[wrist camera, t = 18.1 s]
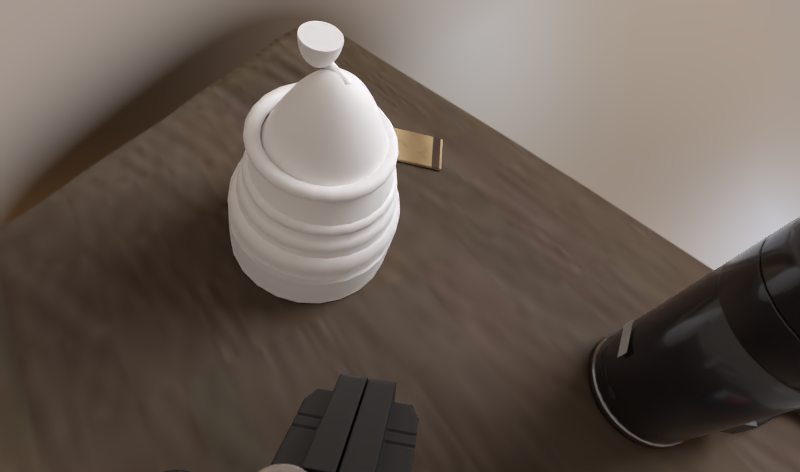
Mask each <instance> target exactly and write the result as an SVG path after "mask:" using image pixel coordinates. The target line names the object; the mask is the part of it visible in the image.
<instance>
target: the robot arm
mask: <svg viewBox="0 0 800 472" xmlns="http://www.w3.org/2000/svg"><path fill="white" fill-rule="evenodd" d="M589 379H590V384H591V388H592V391H593V394H594V397H595V399H596V401H597V403H598V405H599V407H600V409H601V410H602V412H603V414H604V415H605V416H606V418H607V419H608V420H609V421H610V423H611V424H612V425H613V426H614V427H615V428H616V429H617V430H619V431H620V432H621V433H622V434H623V435H625V436H626V437H628V438H629V439H631V440H633V441H635V442H637V443H639V444H641V445H644V446H648V447H652V448H665V447H670V446H673V445H677V444H679V443H681V442H683V441H686V440H689V439H693V438H697V437H700V436H704V435H708V434H712V433H715V432H719V431H720V432H726V433H732V434H734V433H737V432H741V431H745V430H749V429H752V428H756V427H758V426H757V425H761V424H763V423H765V422H767V421H769V420H770V419H772V418H774V417H776V416H777V415H779V414H782V413H786V412H790V411H792V412H797V413H800V217H799V218H797V219H795V220H793V221H792V222H790V223H788V224H787V225H785V226H784V227H782V228H780V229H779V230H777V231H776V232H774V233H773V234H771V235H769V236H768V237H766V238H765V239H763V240H761V241H760V242H758V243H757V244H755V245H754V246H752V247H750V248H749V249H747V250H746V251H744V252H742V253H741V254H739V255H738V256H736V257H734V258H733V259H732V260H730V261H729V262H727V263H725V264H724V265H722V266H721V267H719V268H717V269H716V270H714V271H713V272H711V273H709V274H708V275H706V276H705V277H703V278H702V279H700V280H698V281H697V282H695V283H694V284H692V285H690V286H689V287H687V288H686V289H684V290H683V291H681V292H679V293H678V294H676V295H675V296H673V297H671V298H670V299H668V300H667V301H665V302H664V303H662V304H660V305H659V306H657V307H656V308H654V309H652V310H651V311H649V312H648V313H646V314H644V315H643V316H641V317H640V318H638V319H637V320H635V321H633V319H632V320H631V321H629V322H627V323H626V324H624V327H623V328H622V329H621V330H619V331H617V332H614V333H612V334H610V335H609V336H607V337H606V338H604V339H603V340H601V341H600V342H599V343H598V344H597V346H596V347H595V349H594V351H593V353H592V355H591V358H590V364H589ZM395 391H396V383H395V382H389V381H383V380H377V379H372V378H370V379H369V381H368V378H365V377H359V376H354V375H348V374H341V375H340V377H339V379H338V381H337V384H336V386H335V388H334V390H333V391H327V390H322V389H317V390H316V391H315V392H313V393H312V394H311V395H309V396H308V397H307V398H305V399H304V401H303V403H302V405H301V407H300V409H299V411H298V414H297V415H296V417H295V419H294V421H293V423H292V426H290V428H289V430H288V432H287V434H286V436H285V438H284V440H283V442H282V444H281V446H280V448H279V450H278V452H277V454H276V456H275V458H274V459H273V461H272V463H271V465H270V466H267V467H265V468H263V469H261V470H259V471H258V472H411V471H412V464H413V456H414V449H415V442H416V435H417V428H418V421H419V419H418V417H417V414H416V412H415V410H414V408H413V405H407V404H401V403H396V402H394V399H395ZM165 472H189V471H185V470H170V471H165Z"/></svg>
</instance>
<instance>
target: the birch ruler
mask: <svg viewBox="0 0 800 472" xmlns="http://www.w3.org/2000/svg"><path fill="white" fill-rule="evenodd" d="M270 113H271V112H270ZM270 113H269V114H270ZM269 114H268V115H267V116H266V118H265V120H266V119H267V117H268V116H269ZM265 120H264V122H265ZM264 122H263V123H264ZM262 125H263V124H262ZM261 127H262V126H261ZM394 131H395V133H396V136H397V138H398V150H399V155H398V159H397V161H400V162H404V163H408V164H413V165H417V166H421V167H426V168H430V169H435V170H439V171H440V170H441V161H442V141H443V139H440V138H435V137H431V136H427V135H422V134H418V133H414V132H410V131H406V130H401V129H397V128H394Z"/></svg>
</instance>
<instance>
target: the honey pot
mask: <svg viewBox="0 0 800 472" xmlns="http://www.w3.org/2000/svg"><path fill="white" fill-rule="evenodd" d="M297 40H298V46H299V50H300V52H301V54H302V56H303V58H304V59H305V61H306V62H307V63H309V64H310V65H311V66H313V67H317V68H323V67H324V68H325V69H321V70H318V71H316V72H314V73H312V74H310V75H308V76H306V77H305V78H303V79H302V80H300V81H299V82H297V83H293V84H289V85H285V86H281V87H279V88H277V89H275V90H273V91H271V92H269V93H267V94H265V95H264V96H263V97H262V98H261V99H260V100H259V101H258V102H257V103H256V104H254V105H253V107H252V108H251V110H250V112H249V114H248V116H247V118H246V120H245V124H244V132H243V140H244V144H245V149H246V150H245V152H244V155H243V158H242V159H241V160H240V162H239V163H238V165H237V167H236V169H235V171H234V173H233V175H232V177H231V181H230V186H229V193H228V200H227V201H228V211H229V212H228V216H229V231H230V239H231V244H232V249H233V254H234V256H235V258H236V259H237V261H238V263H239V265H240V267H241V269H242V270H243V272H244V273H245V274H246V275H247V276H248V277H249V278H250V279H251V280H252V281H253V282H254V283H255V284H256V285H257V286H259V287H261V288H263V289H264V290H266V291H268V292H270V293H271V294H273V295H275V296H277V297H280V298H284V299H287V300H291V301H294V302H298V303H324V302H329V301H334V300H339V299H342V298H344V297H346V296H348V295H350V294H352V293H354V292H356V291H358V290H360V289H361V288H362V287H363V286H364V285H365V284H367V283H368V282H369V281H370V280H371V279H372V278H373V277H374V275H375V274H376V272H377V270H378V269H379V267H380V265H381V264H382V262H383V260H384V257H385V255H386V253H387V250H388V248H389V246H390V244H391V241H392V239H393V235H394V234H395V232H396V228H397V224H398V220H399V215H400V205H399V193H398V190H397V174H396V167H395V166H396V162H397V159H398V155H399V150H398V138H397V136H396V133H395V131H394V128H393V126H392V124H391V122H390V121H389V119H388V118H387V117H386V116H385V114H384V113H383V112H382V110H381V109H380V108H378V107H377V105H376V102H375V100H374V99H373V97H372V95H371V93H370V92H369V90H368V89H367V88H366V86H365V85H364V84H363V83H362V82H361V80H360V79H358V78H357V77H356V76H355V75H353V74H352V73H350V72H348V71H346V70H343V69H340V68H339V67H338V66H337V65H336V64H335V63H334V61H335V60H336V59H337V57H338V56H339V54H340V52H341V50H342V47H343V43H344V37H343V34H342V33H341V32H340V30H339V29H337V28H336V27H335V26H333V25H331V24H329V23H326V22H321V21H310V22H306V23H304V24H302V25H301V26H300V27H299V29H298V32H297ZM270 112H271V113H270ZM269 113H270V114H269ZM268 114H269V116H268V117H267V119H266V120H265V118H266V116H267V115H268ZM264 120H265V122H264ZM263 122H264V123H263ZM262 124H263V125H262ZM261 126H262V127H261Z"/></svg>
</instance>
